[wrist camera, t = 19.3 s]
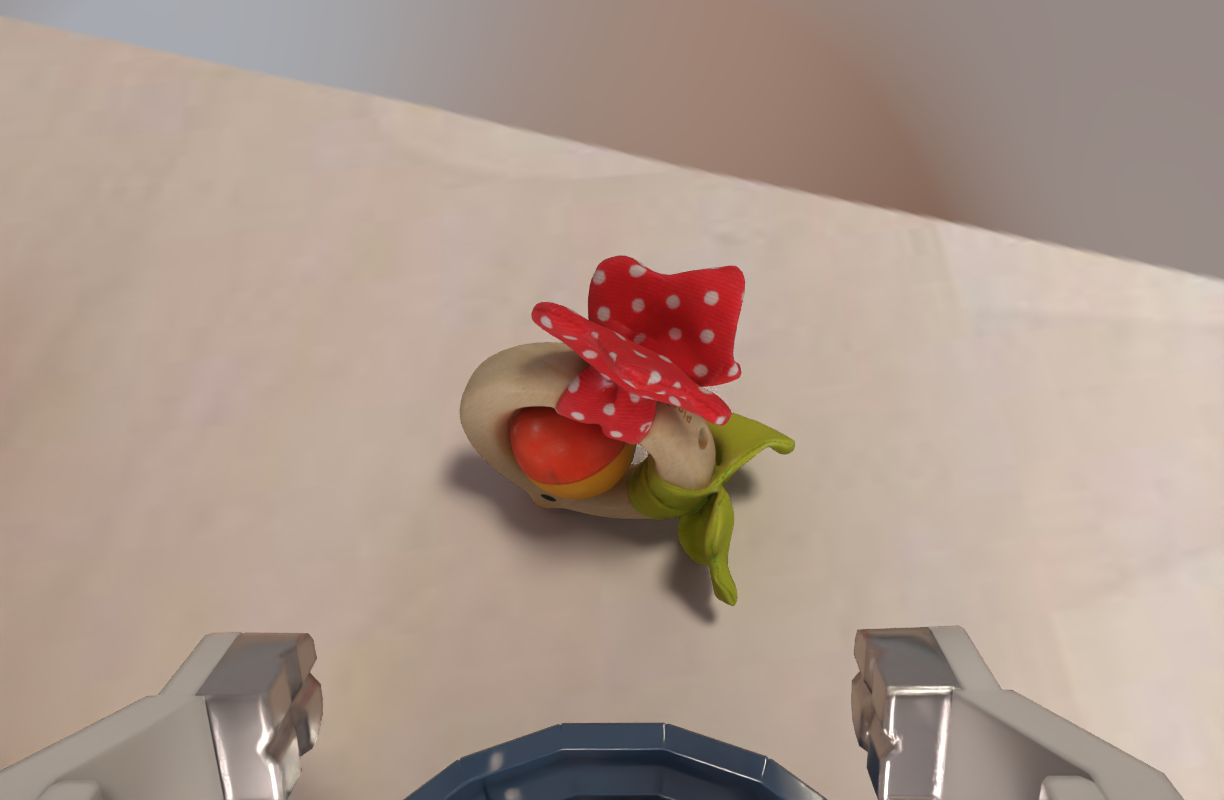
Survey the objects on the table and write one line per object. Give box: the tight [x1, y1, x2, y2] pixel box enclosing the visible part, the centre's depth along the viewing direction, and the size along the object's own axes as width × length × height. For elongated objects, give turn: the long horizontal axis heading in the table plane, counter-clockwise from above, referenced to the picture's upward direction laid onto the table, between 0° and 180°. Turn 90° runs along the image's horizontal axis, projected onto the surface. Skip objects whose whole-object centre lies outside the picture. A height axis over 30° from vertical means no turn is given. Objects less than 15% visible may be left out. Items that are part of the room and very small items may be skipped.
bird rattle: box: [460, 256, 795, 606], centre depth 25 cm, size 6×11×9 cm
